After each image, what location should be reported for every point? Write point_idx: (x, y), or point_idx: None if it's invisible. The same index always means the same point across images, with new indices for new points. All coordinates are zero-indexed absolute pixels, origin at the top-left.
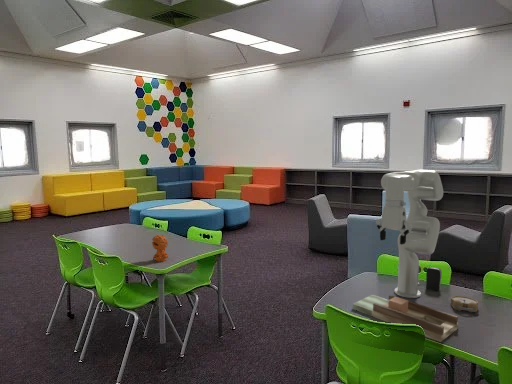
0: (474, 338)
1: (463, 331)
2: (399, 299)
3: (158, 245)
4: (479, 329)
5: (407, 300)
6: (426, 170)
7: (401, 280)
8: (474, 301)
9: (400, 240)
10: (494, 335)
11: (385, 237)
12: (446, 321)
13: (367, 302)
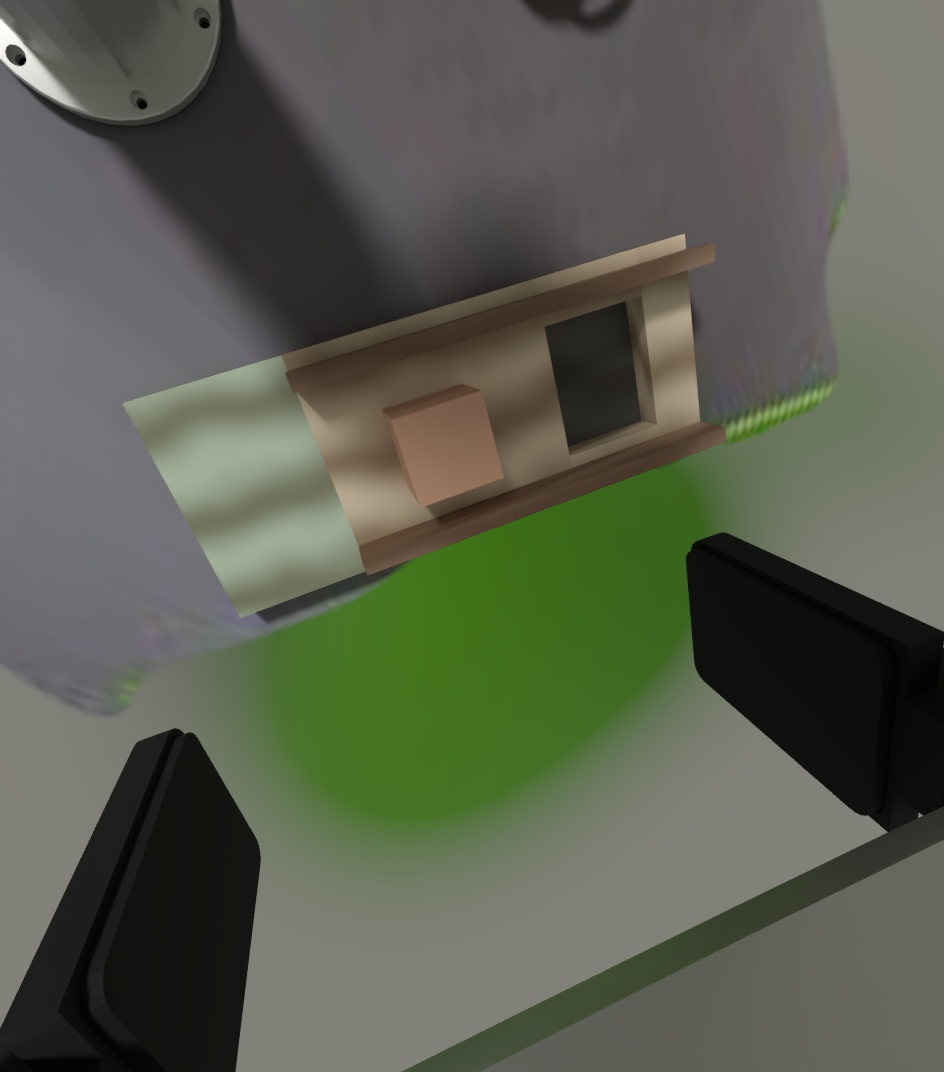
0: (748, 266)
1: (692, 246)
2: (442, 434)
3: None
4: (727, 135)
5: (477, 395)
6: None
7: (55, 17)
8: None
9: (768, 727)
10: (792, 133)
11: (175, 768)
12: (645, 286)
13: (252, 525)
